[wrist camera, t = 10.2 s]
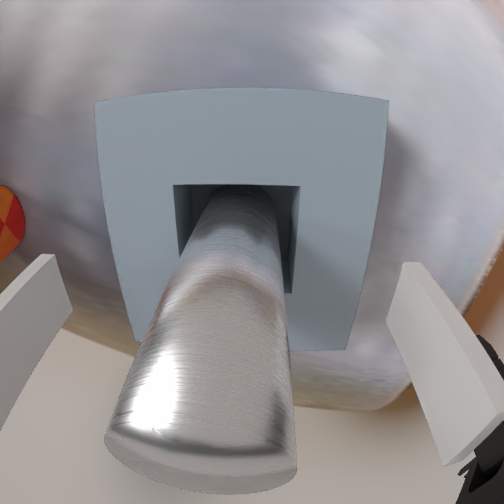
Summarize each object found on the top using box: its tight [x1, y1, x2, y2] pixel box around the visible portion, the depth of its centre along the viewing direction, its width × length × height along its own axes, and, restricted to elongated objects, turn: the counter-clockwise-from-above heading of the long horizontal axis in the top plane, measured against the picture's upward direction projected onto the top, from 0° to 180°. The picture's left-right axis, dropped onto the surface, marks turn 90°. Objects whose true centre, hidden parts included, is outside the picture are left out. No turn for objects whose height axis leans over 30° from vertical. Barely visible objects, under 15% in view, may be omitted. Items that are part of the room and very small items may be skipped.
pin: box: [104, 184, 297, 495], centre depth 11 cm, size 4×4×14 cm
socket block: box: [94, 87, 389, 351], centre depth 16 cm, size 13×14×4 cm
